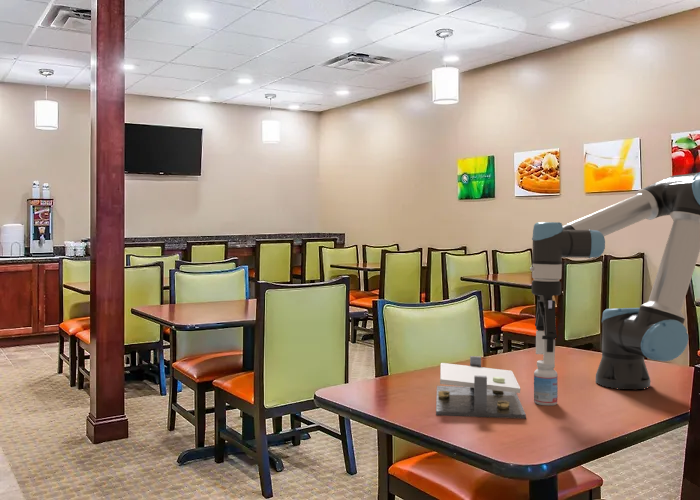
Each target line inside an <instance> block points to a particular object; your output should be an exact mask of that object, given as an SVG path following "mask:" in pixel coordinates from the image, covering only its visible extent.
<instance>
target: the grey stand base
mask: <svg viewBox="0 0 700 500" xmlns="http://www.w3.org/2000/svg"><path fill="white" fill-rule="evenodd" d="M469 366H477V367H482V356H480V355H479V356H478V355H477V356H475V355H474V356H473V355H470V356H469ZM435 405H436V407H435V415H436V416H449V417H471V418H472V417H473V418H475V417H477V418H498V419H501V418H502V419H503V418H504V419H527V415H526V411H525V409H524V406H523V405H522V403H521V401H520V398H519V396H518V393H514V392H506V391H497V390H489V389H487V376H474V388H471V387H463V386H454V385H436V404H435Z"/></svg>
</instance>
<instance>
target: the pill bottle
mask: <svg viewBox="0 0 700 500" xmlns="http://www.w3.org/2000/svg"><path fill="white" fill-rule="evenodd" d="M555 367H556V365H548V364H543V359H539V360H537V361H536V369H535V370H534V372H533V402H534V403H535V404H536V405H539V406H549V407H550V406H552V407H553V406H556V405H557V404H558V396H559V395H558V387H559V386H558V381H559V380H558V379H559V377H558V372H557V370H555Z"/></svg>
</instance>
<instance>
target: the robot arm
mask: <svg viewBox="0 0 700 500" xmlns="http://www.w3.org/2000/svg"><path fill="white" fill-rule="evenodd" d="M663 216H664V217H665V216H670V218H671V219H672V220H673V222H672V226H671V228H670V232H669V234H668V239H667V242H666V244H665V246H664V251H663V253H662V256H661V260H660V263H659V266H658V270H657V273H656V274H655V279H654V282H653V285H652V289H651V292H650V294H649V297H648V301H646V302H644V303H643V304H641V305H640V307H623V308H622V307H621V308H620V307H619V308H606V309H605V310H603V312H602V318H601V326H602V327H601V328H602V329H601V330H602V331H601V358H600V362H599V365H598V366H597V367H598V368H597V369H596V373H595V384H597V383H598V384H600V385H599V386H601V385H602V386H601V387H604V386H606V387H605V388H608V387H611V388H610V389H613V388H618V389H617V390H620V389H644V388H647V387H649V386H650V387H651V377H650V375H649V371H648V368H647V365H646V362H645V358H647V359H649V360H652V361H659V362H671V361H673V360H674V359H677V358H678V357H680V356H681V355H682V354H683V353H684V352H685V350H686V348H687V346H688V343H689V333H688V329H687V327H686V326H685V325H684V323H685V319H686V317H685V315H684V314H683V312H682V309H683V305H684V302H685V300H686V295H687V294H688V290H689V287H690V283H691V280H692V277H693V274H694V271H695V268H696V266H697V265H696V264H697V261H698V258H699V256H700V171H699V172H694V173H686V174H675V175H670V176H669V177H665V178H664V179H661V180H659V181H658V180H657V181H656V182H654V183H652V184H650V185H647V186H645V187H643V188H641V189H639V190H637V191H636V192H635V194H634V195H633V196H631V197H628V198H626V199H623V200H620V201H619V202H618V201H617V203H614V204H612V205H609V206H607V207H605V208H601V209H599V210H597V211H594V212H593V213H590V214H588V215H585V216H583V217H580V218H578V219H575V220H574V221H570V222H569V223H568V222H567V223H566V224H564V225H563V224H562V222H559V221H558V222H556V221H551V222H550V221H549V222H548V221H541V222H540V221H539V222H536V223H534V225H533V230H532V238H531V240H532V253H531V254H532V264H531V266H530V267H529V270H530V271H531V278H532V279H533V280H532V281H531V293H532V295H535V296H537V297H536V298H537V301H536V302H537V303H536V313H535V323H534V326H535V329H536V330H535V331H536V332H535V354H536V355H543V356H542V357H543V358H542V360H543V364H548V365H555V364H556V361H555V360H556V359H555V358H556V339H557V338H558V334H557V320H556V319H557V318H556V304H557V303H556V300H553V296H560V295H561V294H562V281H560V280H561V279H562V275H563V274H562V271H563V270H562V269H563V268H562V267H563V263H562V262H563V261H562V260H563V259H566V258H569V259H570V258H573V259H574V258H575V259H582V258H584V259H592V258H599V257H601V256H602V255H603V253H604V252H605V250H606V239H605V236H608V235H610V234H613V233H615V232H617V231H618V232H619V231H620V230H622V229H624V228H627V227H630V226H631V225H635V224H636V223H639V222H641V221H643V220H648V221H652V220H654V219H657V218H659V217H663ZM555 366H556V365H555ZM598 384H597V385H598ZM644 390H645V389H644Z"/></svg>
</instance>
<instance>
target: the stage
mask: <svg viewBox="0 0 700 500" xmlns="http://www.w3.org/2000/svg"><path fill="white" fill-rule="evenodd" d="M439 367H440V368H439V369H440V373H439V375H440V376H439V384H440V385H445V386H458V387H471V388H474V376H487V389H489V390H497V391H506V392H514V393H517V394H521V387H520V384H519V383H518V381H517V378H516V376H515V374H514V372H513V370H510V369H509V370H507V369H501V368H500V369H499V368H491V367H482V366H481V367H477V366H470V365H465V364H456V363H455V364H454V363H447V362H441V363H440V366H439Z"/></svg>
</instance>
